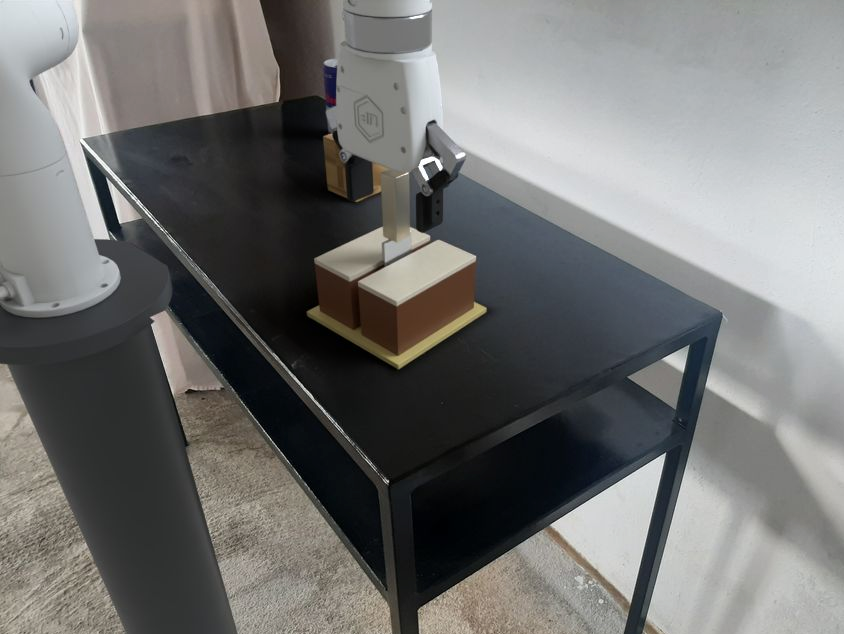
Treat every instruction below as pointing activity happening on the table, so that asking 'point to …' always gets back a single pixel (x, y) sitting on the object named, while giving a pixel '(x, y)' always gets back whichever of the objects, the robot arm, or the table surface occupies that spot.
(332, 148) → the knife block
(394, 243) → the knife
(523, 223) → the table surface
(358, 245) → the cake
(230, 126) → the table surface
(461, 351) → the table surface
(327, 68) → the energy drink
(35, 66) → the robot arm
